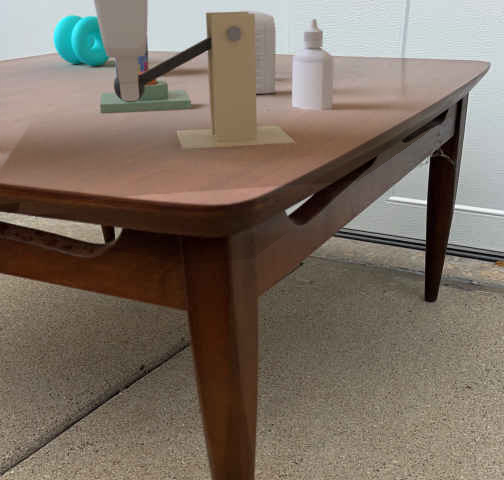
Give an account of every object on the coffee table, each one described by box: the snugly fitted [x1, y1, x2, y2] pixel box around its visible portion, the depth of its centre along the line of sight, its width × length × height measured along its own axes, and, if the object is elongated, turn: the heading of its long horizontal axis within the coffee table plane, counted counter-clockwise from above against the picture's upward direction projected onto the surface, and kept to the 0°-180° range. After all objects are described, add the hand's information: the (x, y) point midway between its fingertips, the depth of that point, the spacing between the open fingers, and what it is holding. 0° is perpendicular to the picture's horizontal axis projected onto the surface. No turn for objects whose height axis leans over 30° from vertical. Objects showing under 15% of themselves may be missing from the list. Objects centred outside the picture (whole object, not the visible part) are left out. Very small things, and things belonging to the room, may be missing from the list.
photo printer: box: [231, 10, 277, 95], centre depth 107 cm, size 10×4×12 cm, turn 105°
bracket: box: [176, 11, 296, 150], centre depth 74 cm, size 12×9×14 cm
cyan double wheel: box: [53, 14, 111, 67], centre depth 149 cm, size 10×10×10 cm
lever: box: [113, 36, 212, 103], centre depth 72 cm, size 15×3×3 cm, turn 100°
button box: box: [99, 79, 192, 114], centre depth 96 cm, size 12×10×4 cm
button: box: [138, 71, 157, 85], centre depth 95 cm, size 4×4×2 cm
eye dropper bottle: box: [291, 18, 334, 111], centre depth 90 cm, size 4×6×12 cm
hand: (130, 94), depth 73 cm, fingers open, 6 cm apart
